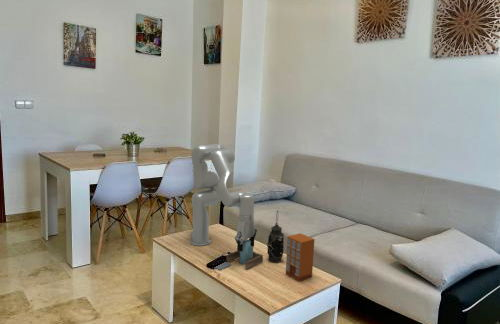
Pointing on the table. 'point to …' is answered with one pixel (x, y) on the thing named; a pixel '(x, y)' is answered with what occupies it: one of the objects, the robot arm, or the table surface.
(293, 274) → the miniature building
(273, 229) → the lantern
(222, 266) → the coaster
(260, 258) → the brown u-shaped frame
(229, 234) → the table surface
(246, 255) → the jug
